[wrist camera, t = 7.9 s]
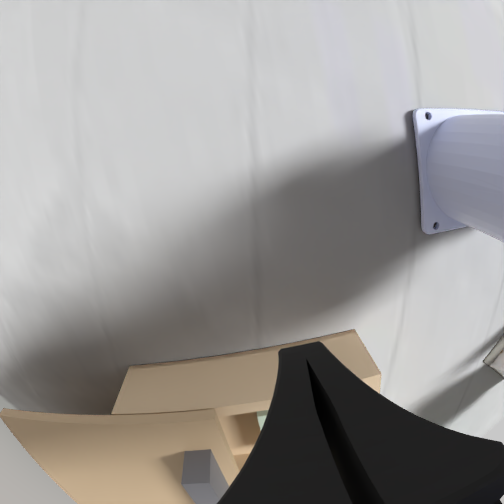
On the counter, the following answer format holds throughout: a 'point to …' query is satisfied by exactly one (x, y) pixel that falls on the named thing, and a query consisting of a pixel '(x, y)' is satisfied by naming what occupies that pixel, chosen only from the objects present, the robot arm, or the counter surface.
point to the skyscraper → (497, 357)
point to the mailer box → (230, 386)
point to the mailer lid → (130, 455)
